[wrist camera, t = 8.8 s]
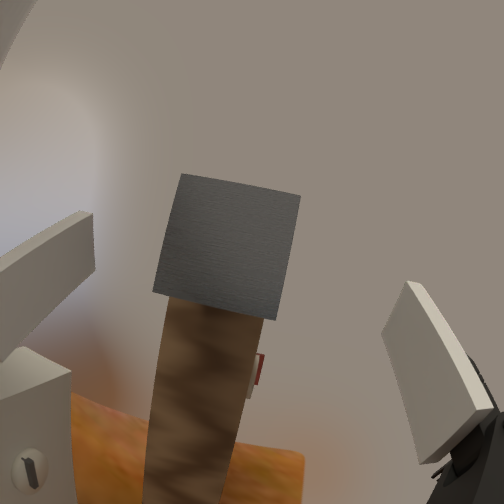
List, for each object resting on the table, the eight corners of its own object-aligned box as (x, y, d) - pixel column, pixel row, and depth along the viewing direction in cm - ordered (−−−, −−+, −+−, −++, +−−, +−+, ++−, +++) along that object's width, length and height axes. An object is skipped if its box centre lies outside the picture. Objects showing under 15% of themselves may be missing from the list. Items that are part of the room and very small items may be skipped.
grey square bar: (152, 292, 9) (181, 173, 10) (228, 286, 33) (235, 251, 33) (275, 320, 9) (300, 195, 9) (263, 294, 33) (271, 258, 33)
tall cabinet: (141, 558, 15) (172, 281, 18) (171, 492, 29) (209, 282, 32) (208, 576, 15) (284, 306, 18) (222, 505, 29) (273, 296, 32)
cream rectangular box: (-8, 570, 3) (-97, 369, 5) (46, 519, 15) (24, 346, 17) (47, 608, 3) (-48, 435, 5) (93, 545, 15) (83, 376, 17)
